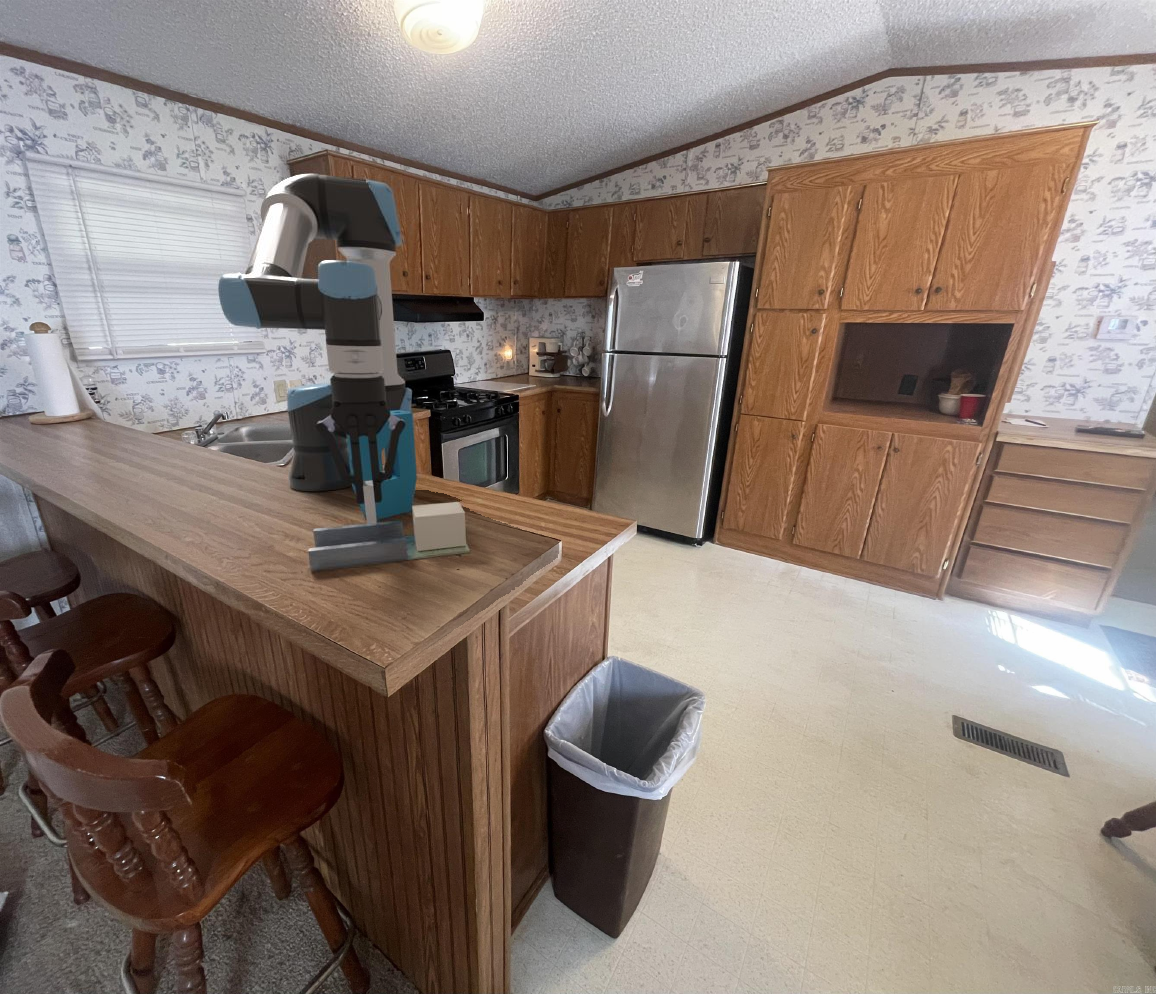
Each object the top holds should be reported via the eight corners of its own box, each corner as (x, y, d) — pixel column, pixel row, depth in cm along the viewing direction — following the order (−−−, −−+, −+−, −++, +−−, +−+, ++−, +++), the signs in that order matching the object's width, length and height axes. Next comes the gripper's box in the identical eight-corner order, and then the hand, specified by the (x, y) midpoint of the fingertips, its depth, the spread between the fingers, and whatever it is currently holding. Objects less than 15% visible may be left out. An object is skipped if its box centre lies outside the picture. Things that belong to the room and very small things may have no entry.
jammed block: (414, 538, 89) (412, 505, 88) (460, 533, 92) (458, 501, 91) (417, 551, 84) (415, 517, 82) (466, 545, 87) (464, 512, 85)
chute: (316, 547, 86) (313, 528, 85) (460, 532, 94) (459, 514, 93) (311, 571, 77) (308, 551, 76) (469, 552, 86) (469, 533, 85)
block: (366, 522, 97) (356, 418, 91) (353, 516, 100) (342, 415, 94) (420, 508, 106) (414, 412, 100) (407, 503, 109) (400, 409, 103)
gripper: (305, 377, 70) (326, 534, 78) (404, 377, 75) (415, 525, 83) (310, 371, 77) (329, 516, 84) (401, 372, 81) (411, 509, 89)
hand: (371, 520), depth 84 cm, fingers closed
